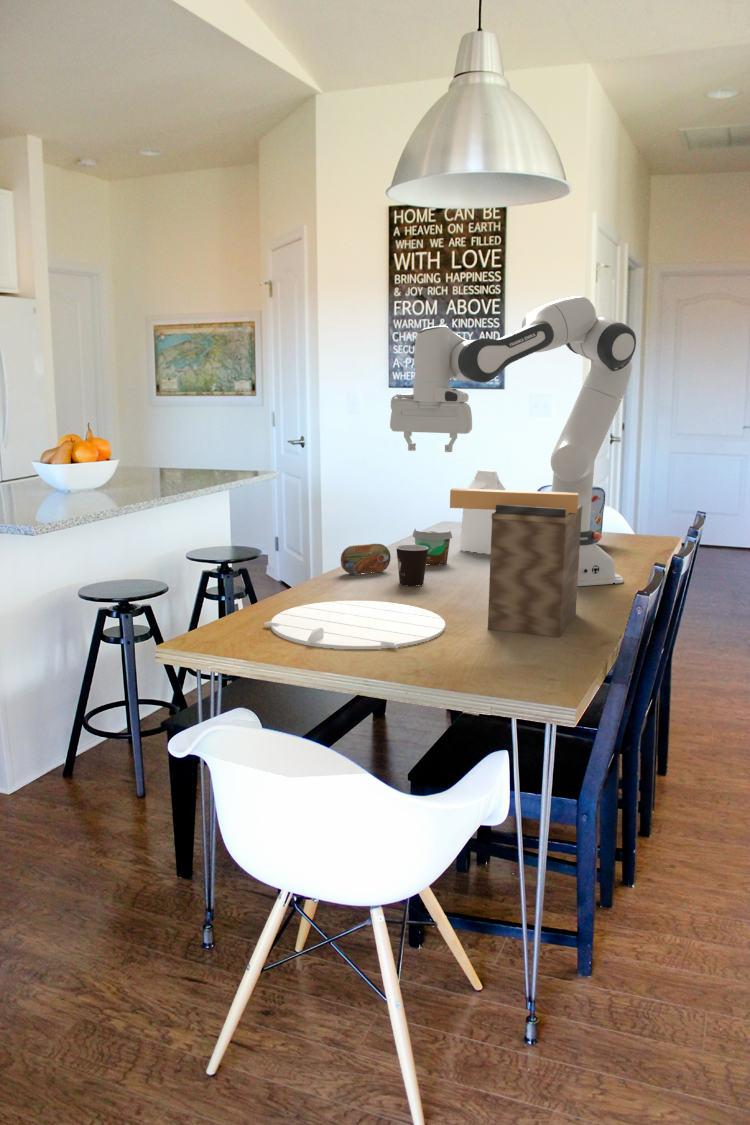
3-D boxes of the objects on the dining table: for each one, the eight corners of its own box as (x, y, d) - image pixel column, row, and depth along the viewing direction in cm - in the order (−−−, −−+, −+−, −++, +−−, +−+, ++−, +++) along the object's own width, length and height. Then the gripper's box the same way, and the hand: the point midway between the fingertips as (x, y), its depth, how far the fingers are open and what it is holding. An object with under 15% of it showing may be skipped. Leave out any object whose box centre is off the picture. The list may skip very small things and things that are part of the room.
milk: (508, 549, 301) (511, 470, 296) (493, 554, 292) (496, 473, 287) (475, 545, 308) (478, 468, 302) (459, 550, 298) (462, 470, 293)
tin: (343, 576, 257) (343, 546, 255) (338, 574, 260) (339, 545, 258) (390, 571, 264) (391, 543, 262) (385, 569, 267) (386, 541, 265)
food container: (406, 564, 275) (406, 531, 273) (413, 560, 281) (413, 528, 279) (445, 567, 271) (446, 534, 269) (451, 564, 276) (452, 531, 274)
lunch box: (585, 539, 322) (589, 477, 318) (607, 544, 313) (611, 480, 309) (527, 546, 307) (530, 481, 303) (548, 551, 299) (552, 484, 294)
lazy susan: (391, 663, 180) (391, 646, 179) (232, 634, 198) (232, 619, 198) (472, 619, 214) (473, 604, 213) (330, 598, 233) (330, 585, 232)
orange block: (449, 507, 206) (450, 490, 205) (452, 505, 209) (452, 488, 209) (577, 513, 200) (578, 495, 199) (577, 510, 204) (578, 492, 203)
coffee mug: (424, 588, 244) (425, 551, 242) (393, 586, 245) (393, 549, 243) (431, 579, 255) (431, 543, 253) (400, 577, 256) (401, 542, 254)
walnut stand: (487, 629, 204) (491, 505, 198) (510, 606, 225) (515, 494, 219) (559, 637, 198) (566, 510, 193) (576, 613, 219) (582, 497, 214)
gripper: (386, 393, 223) (385, 450, 226) (468, 395, 216) (466, 453, 219) (395, 393, 229) (394, 448, 232) (474, 394, 222) (473, 452, 225)
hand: (430, 451), depth 225 cm, fingers open, 8 cm apart
